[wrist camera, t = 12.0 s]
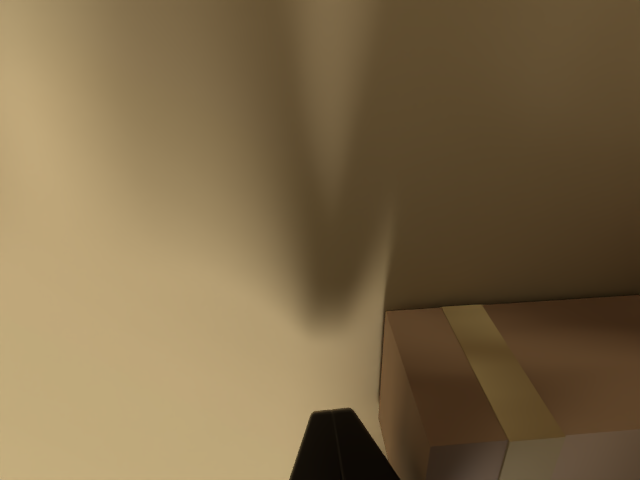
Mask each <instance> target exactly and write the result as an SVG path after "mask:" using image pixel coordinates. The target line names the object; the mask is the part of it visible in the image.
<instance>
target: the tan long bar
mask: <svg viewBox="0 0 640 480" xmlns="http://www.w3.org/2000/svg"><path fill="white" fill-rule="evenodd" d="M379 422H380V426H381V431H382V435H383V439H384V444H385V448H386V452H387V456H388V461H389V463H390V465H391V466H392V468H393V469H394V471H395V472H396V474H397V475H398V476H399V478H400V479H401V480H640V295H631V296H615V297H600V298H584V299H569V300H553V301H537V302H522V303H506V304H491V305H482V304H478V305H462V306H447V307H441V308H428V309H413V310H397V311H386V312H385V327H384V342H383V357H382V372H381V387H380V402H379Z"/></svg>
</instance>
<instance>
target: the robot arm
mask: <svg viewBox="0 0 640 480" xmlns="http://www.w3.org/2000/svg"><path fill="white" fill-rule="evenodd" d="M289 480H401V479H400V478H399V476H398V475H397V474H396V472H395V471H394V469H393V468H392V466H391V465H390V463H389V462H388V460H387V459H386V457H385V456H384V454H383V453H382V451H381V450H380V449H379V447H378V446H377V444H376V443H375V441H374V440H373V438H372V437H371V435H370V434H369V432H368V431H367V429H366V428H365V426H364V425H363V423H362V422H361V421H360V419H359V418H358V416H357V415H356V413H355V412H354V411H353V410H352V409H351V408H341V409H333V410H322V411H314V412H313V413H312V414H311V416H310V418H309V421H308V424H307V427H306V430H305V434H304V437H303V440H302V443H301V446H300V449H299V452H298V455H297V458H296V461H295V464H294V467H293V470H292V473H291V476H290V479H289Z"/></svg>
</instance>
